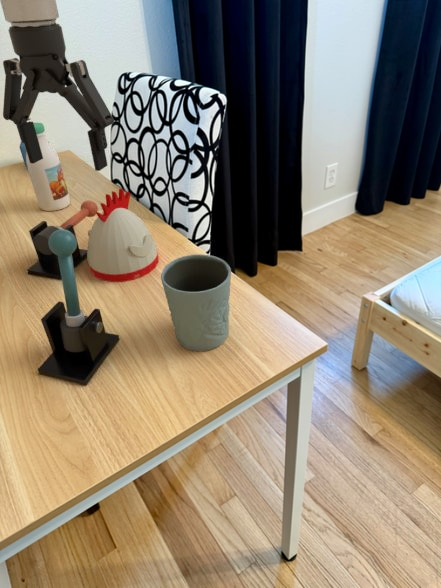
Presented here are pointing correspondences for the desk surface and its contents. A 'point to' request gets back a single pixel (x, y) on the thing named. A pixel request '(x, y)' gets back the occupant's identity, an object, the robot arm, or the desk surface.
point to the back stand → (52, 256)
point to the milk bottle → (48, 176)
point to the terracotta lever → (64, 226)
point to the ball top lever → (68, 289)
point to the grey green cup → (198, 300)
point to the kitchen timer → (120, 242)
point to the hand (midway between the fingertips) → (68, 164)
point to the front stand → (76, 363)
